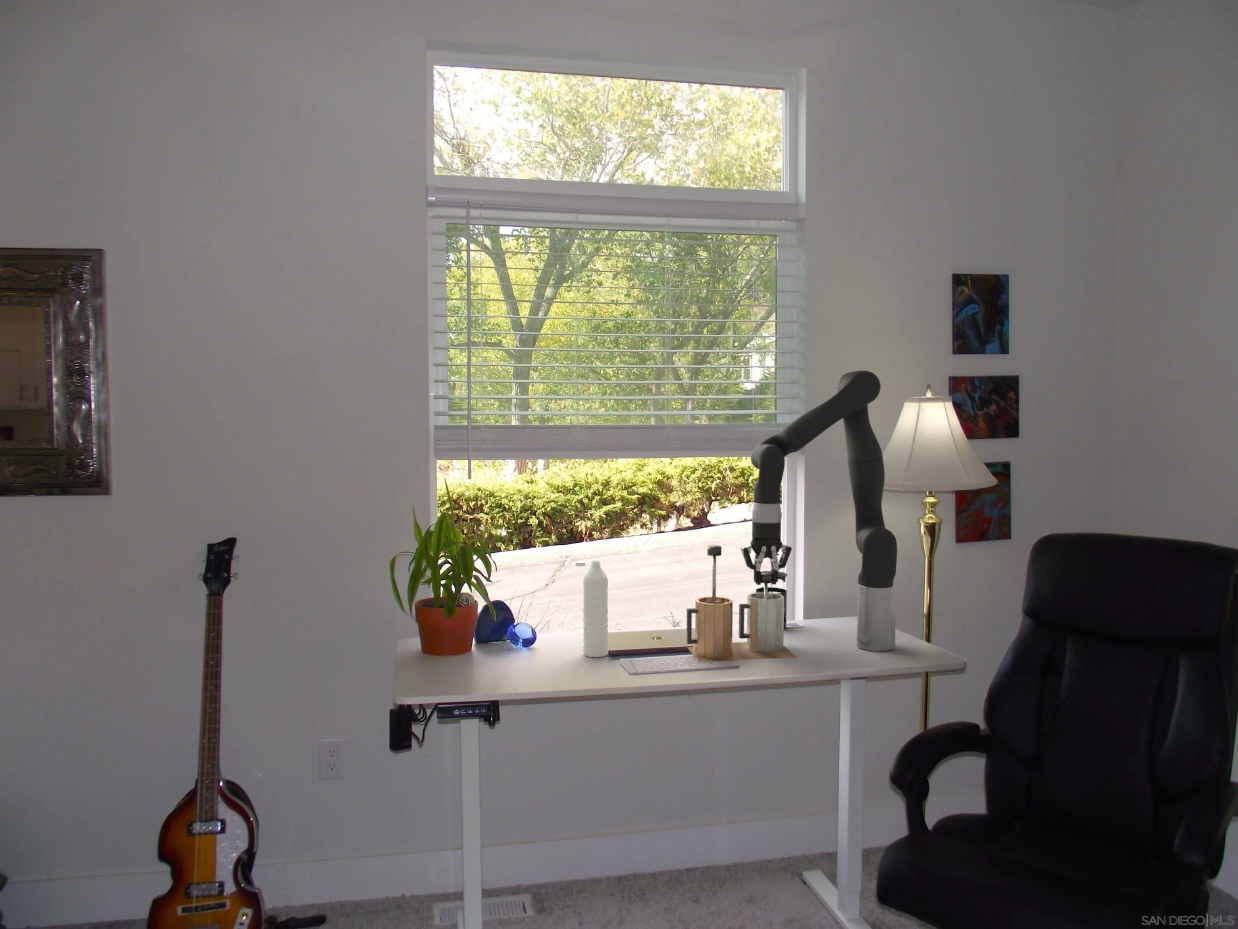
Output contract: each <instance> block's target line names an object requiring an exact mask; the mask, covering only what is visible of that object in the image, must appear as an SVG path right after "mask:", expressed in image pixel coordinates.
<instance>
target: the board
mask: <svg viewBox="0 0 1238 929" xmlns="http://www.w3.org/2000/svg"><path fill="white" fill-rule="evenodd" d="M686 648H687V650H689V652H690V653H691V654H692V655H693V656H694V658H696V660H697V661H698V662H700V663H705V662H723V661H724V662H725V661H742V660H743V661H745V660H746V661H747V660H765V659H766V660H767V659H789V658H798V656H797V655H796V654H795V653H793V652H792V650H789V649H788V648H787V647H786V646H784V645H783V650H782V651H779V652H775V653H762V652H755V651H752V650H749V649H748V648H747V641H739V642H736V641H735V642H732V655H731V656H730V657H727V658H720V659H711V658H703V657H700V656H697V655H696V653H695V646H693V647H686Z"/></svg>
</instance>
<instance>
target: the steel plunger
mask: <svg viewBox="0 0 1238 929" xmlns="http://www.w3.org/2000/svg"><path fill="white" fill-rule="evenodd" d="M771 583H773V574H772V573H761V584H764V585H763V587H764V599H767V595H768V587H769V585H768V584H771Z"/></svg>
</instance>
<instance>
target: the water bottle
mask: <svg viewBox="0 0 1238 929" xmlns="http://www.w3.org/2000/svg"><path fill="white" fill-rule="evenodd" d="M589 565H590V567H589V568H588V570H587V571H586V573H585V575H584V577H583V583H582V586H583V591H582V592H583V626H582V627H583V633H582V635H583V646H582V647H583V656H585V657H589V658H603V657H606V656H607V655H608V654H609V646H608V645H609V637H608V636H609V630H608V628H609V625H608V622H609V617H608V615H609V610H608V609H609V608H608V606H609V601H608V600H609V592H608V588H609V586H608V585H609V584H608V583H609V579H608V576H607V574H606V573H605V571H604V570H603V568H602V566H601V565H602V564H601V561H600V560H591V561H590V564H589ZM575 566H576V567H586V561H583V560H580V561H579V560H578V561H575Z"/></svg>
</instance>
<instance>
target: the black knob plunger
mask: <svg viewBox="0 0 1238 929" xmlns="http://www.w3.org/2000/svg"><path fill="white" fill-rule="evenodd" d="M706 547H707V549H706V550H707V556H709V557H710V556H711V557H712V574H711V575H712V580H711V581H712V582H711V583H712V586H711V589H712V592H711V594H712V595H711V597H712V603H708V604H719V603H716V597H717V596H716V595H717V557H721V556H722V546H721V545H714V544H712V545H707V546H706Z"/></svg>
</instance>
